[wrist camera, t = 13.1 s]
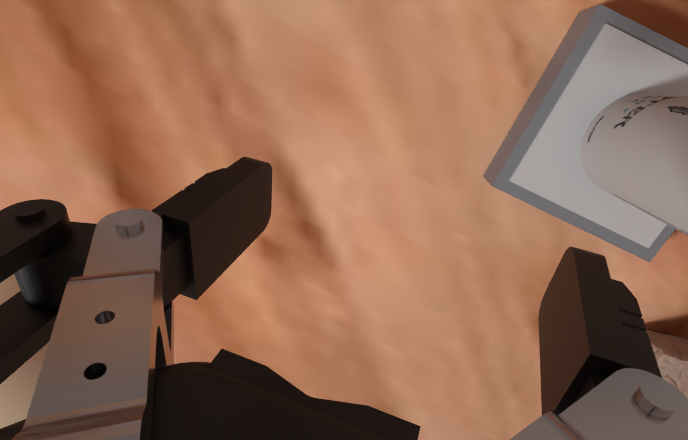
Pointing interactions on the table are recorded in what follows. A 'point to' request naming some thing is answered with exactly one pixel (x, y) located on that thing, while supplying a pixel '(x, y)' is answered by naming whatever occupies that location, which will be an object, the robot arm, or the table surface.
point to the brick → (671, 359)
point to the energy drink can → (642, 155)
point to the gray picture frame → (575, 116)
